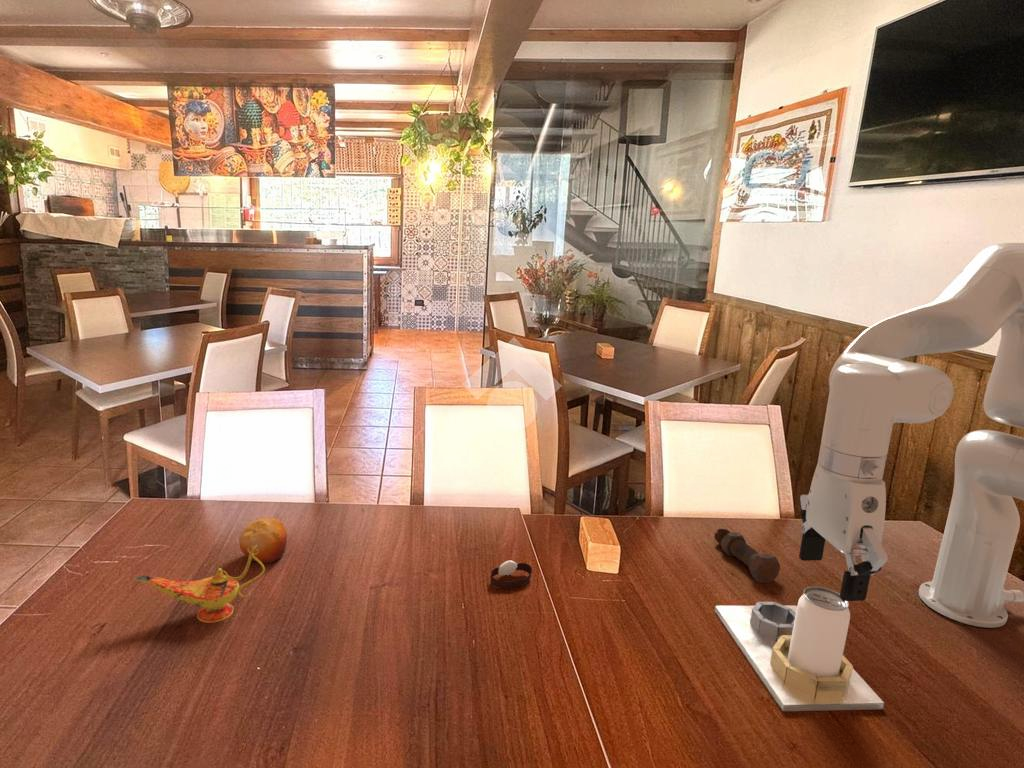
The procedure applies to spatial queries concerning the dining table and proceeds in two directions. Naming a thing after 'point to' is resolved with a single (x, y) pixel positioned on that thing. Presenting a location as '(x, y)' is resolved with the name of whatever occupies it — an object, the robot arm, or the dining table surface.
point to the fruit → (264, 539)
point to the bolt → (749, 556)
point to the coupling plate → (767, 650)
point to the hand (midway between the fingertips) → (830, 578)
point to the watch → (508, 569)
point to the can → (819, 632)
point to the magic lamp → (206, 591)
